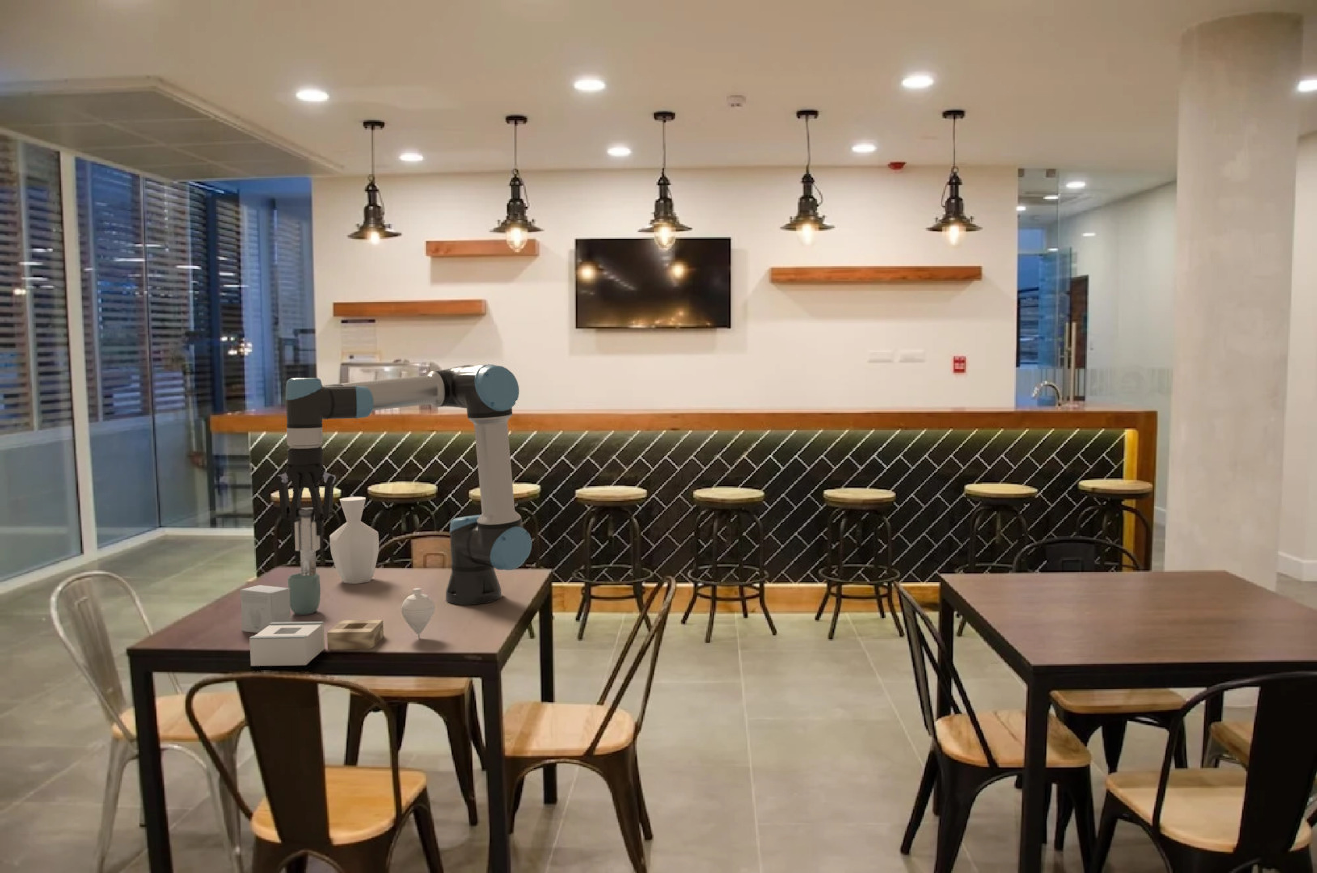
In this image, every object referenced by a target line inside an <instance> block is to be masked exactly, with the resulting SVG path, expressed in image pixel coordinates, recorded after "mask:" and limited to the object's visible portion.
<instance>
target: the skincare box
mask: <svg viewBox="0 0 1317 873" xmlns="http://www.w3.org/2000/svg"><path fill="white" fill-rule="evenodd" d="M239 594H240V609H241V610H240V612H241V632H247V633H248V632H249V633H255V634H258V633H259V632H260V631H262V630H263V629H265V628H266V627H268V626H269V625H270V623H272V622H292V620H291V619H292V618H291V615H292V614H291V607H290V588H288V587H282V586H281V587H280V586H270V585H261V584H258V585H254V586H250V587H246V588H242V589H240V591H239Z"/></svg>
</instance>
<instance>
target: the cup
mask: <svg viewBox="0 0 1317 873" xmlns="http://www.w3.org/2000/svg"><path fill="white" fill-rule="evenodd" d="M287 588H290V611H291V612H293V614H295V615H300V616H306V615H311V614H314V613H316V612H317V610H318V609H319V607H320V605H321V604H320V603H321V577H320V574H319V573H318V572H316V574H315V575H311V576H302V575H301V572H300V573H294V574H291V575H289V576H288V577H287Z"/></svg>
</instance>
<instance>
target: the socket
mask: <svg viewBox="0 0 1317 873" xmlns="http://www.w3.org/2000/svg"><path fill="white" fill-rule="evenodd" d="M325 641H326V639H325V622H324V621H291V622H272V623H270V625H269V626H268V627H266V628H265V629H263V630H262V631H260V632H259V633H255V635H251V636H250V637H249V651H250V652H249V654H250V655H249V656H250V667H260V666H261V667H262V666H264V667H265V666H266V667H267V666H268V667H272V666H273V667H274V666H275V667H276V666H307V665H308V664H309V663H310V662H311V661H312V660H313V659H314V658H316V657H317V656H318V655H319V654H320V653H322V652H323V651H324V650H325V649H326V643H325Z"/></svg>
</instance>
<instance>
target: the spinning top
mask: <svg viewBox="0 0 1317 873" xmlns="http://www.w3.org/2000/svg"><path fill="white" fill-rule="evenodd" d="M412 592H413V593H412V594H410V595H409V596H407V597H406V599H404V601H403V602H402V605H401V606H400V607H401V608H400V610H401V611H400V612H401V614H402V617H403V618H404V620H405V622H406V623H407V624H408V626H409V627H410V629H412V630H413V632H414V633H415V634H417V639H420V638H421V637H420V636H421V635H422V634H421V633H423V631H424V630H425V628H426V627H427V626H428V624H429V622H430V621H431V620H432V617H433V615H434V612H435V604H434V603H435V602H434V601H433V600H432V599H431V598H430V596H429V595H427V594H425V593H424V594H423V593H422V588H421V587H416V588H413V589H412Z"/></svg>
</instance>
